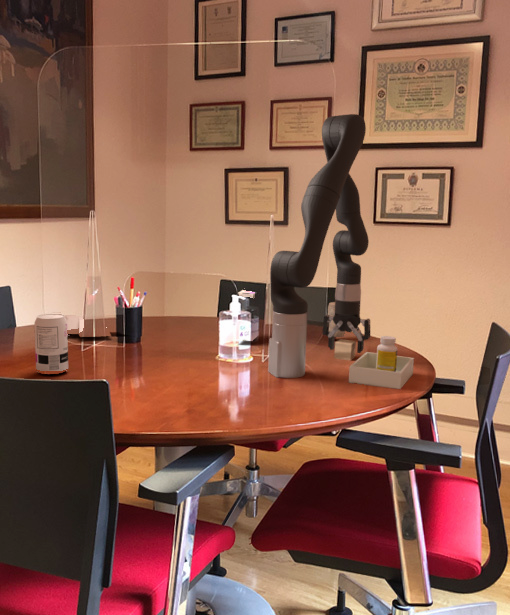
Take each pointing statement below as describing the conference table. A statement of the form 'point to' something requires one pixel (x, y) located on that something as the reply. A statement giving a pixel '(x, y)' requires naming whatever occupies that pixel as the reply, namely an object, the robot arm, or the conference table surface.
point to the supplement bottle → (387, 354)
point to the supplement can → (51, 342)
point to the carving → (331, 325)
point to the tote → (380, 372)
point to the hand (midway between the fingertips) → (345, 350)
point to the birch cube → (345, 349)
